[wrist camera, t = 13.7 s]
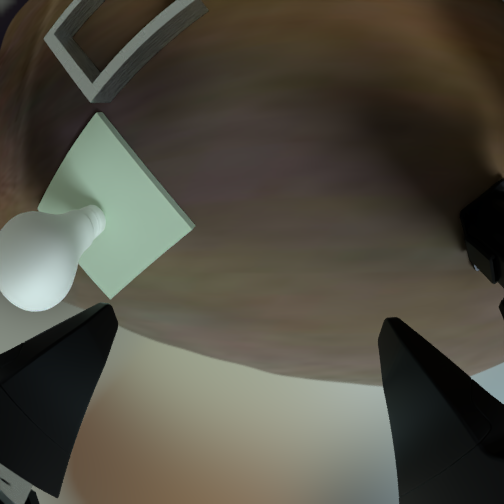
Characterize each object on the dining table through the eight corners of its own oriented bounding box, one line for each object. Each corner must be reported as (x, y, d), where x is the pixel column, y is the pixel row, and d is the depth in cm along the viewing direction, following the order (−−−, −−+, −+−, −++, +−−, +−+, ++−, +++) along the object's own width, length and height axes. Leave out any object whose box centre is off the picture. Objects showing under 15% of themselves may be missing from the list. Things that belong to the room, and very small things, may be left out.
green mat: (102, 112, 16) (96, 112, 16) (195, 225, 20) (192, 229, 19) (42, 205, 21) (37, 208, 20) (114, 294, 24) (110, 299, 23)
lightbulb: (66, 189, 19) (-33, 243, 9) (117, 171, 18) (0, 227, 8) (87, 253, 21) (7, 327, 12) (138, 245, 20) (52, 337, 10)
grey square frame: (141, -39, 10) (127, -50, 7) (208, 10, 13) (198, -3, 10) (61, 41, 13) (43, 38, 11) (109, 102, 16) (90, 102, 14)
